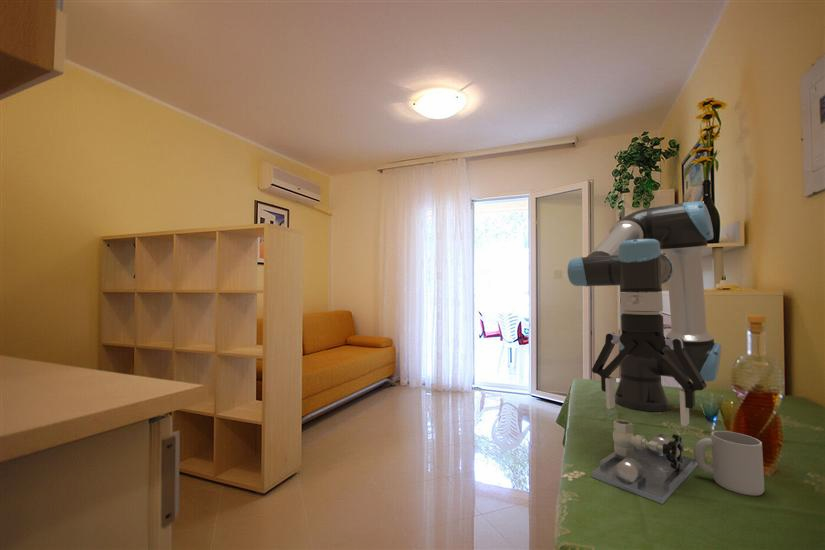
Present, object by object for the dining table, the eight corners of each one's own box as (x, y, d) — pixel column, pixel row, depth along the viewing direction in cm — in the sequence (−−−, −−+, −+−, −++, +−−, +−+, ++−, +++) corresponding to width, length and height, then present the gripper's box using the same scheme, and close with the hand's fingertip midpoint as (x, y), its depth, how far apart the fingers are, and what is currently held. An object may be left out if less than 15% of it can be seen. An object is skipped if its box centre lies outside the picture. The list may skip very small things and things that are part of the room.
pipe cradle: (635, 446, 86) (634, 427, 86) (697, 465, 76) (696, 442, 77) (591, 477, 71) (590, 453, 71) (662, 504, 62) (661, 476, 62)
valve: (607, 454, 77) (675, 475, 68) (606, 423, 77) (674, 439, 68) (619, 446, 81) (684, 465, 72) (618, 416, 81) (683, 431, 72)
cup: (769, 501, 63) (766, 449, 64) (696, 484, 69) (694, 436, 69) (759, 483, 69) (757, 436, 70) (693, 469, 75) (692, 425, 75)
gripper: (574, 311, 83) (577, 404, 82) (712, 316, 64) (718, 438, 63) (589, 310, 88) (592, 398, 87) (722, 314, 69) (727, 427, 68)
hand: (645, 415), depth 75 cm, fingers open, 13 cm apart
